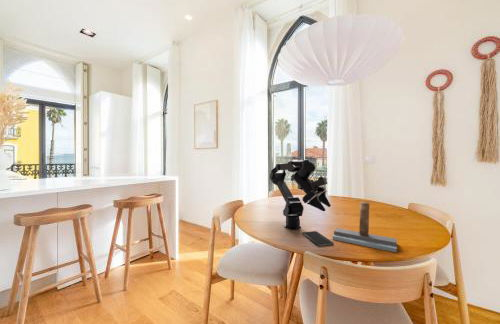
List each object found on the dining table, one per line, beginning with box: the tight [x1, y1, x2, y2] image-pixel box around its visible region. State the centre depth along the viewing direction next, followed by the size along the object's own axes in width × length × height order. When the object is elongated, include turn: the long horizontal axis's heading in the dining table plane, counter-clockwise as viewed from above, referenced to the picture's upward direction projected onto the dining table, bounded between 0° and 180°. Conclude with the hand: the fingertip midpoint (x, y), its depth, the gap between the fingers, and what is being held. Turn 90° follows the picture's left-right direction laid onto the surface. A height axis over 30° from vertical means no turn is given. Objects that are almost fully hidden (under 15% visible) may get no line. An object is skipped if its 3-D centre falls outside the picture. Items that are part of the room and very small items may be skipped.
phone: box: [302, 230, 334, 247], centre depth 101 cm, size 8×1×15 cm
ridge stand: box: [332, 227, 398, 253], centre depth 98 cm, size 24×10×3 cm, turn 57°
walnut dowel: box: [358, 201, 370, 236], centre depth 98 cm, size 4×4×14 cm
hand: (327, 208), depth 101 cm, fingers open, 9 cm apart
